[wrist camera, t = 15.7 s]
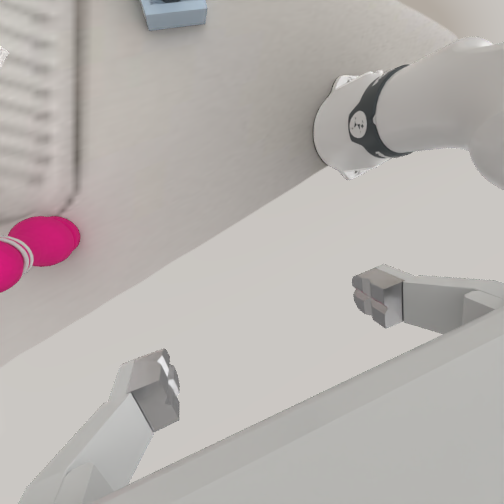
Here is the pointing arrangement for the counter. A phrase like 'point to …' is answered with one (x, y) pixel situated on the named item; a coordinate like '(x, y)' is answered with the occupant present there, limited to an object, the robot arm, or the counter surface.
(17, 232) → the pepper mill
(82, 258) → the counter surface
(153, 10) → the light blue square tray
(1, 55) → the milk
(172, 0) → the cell
